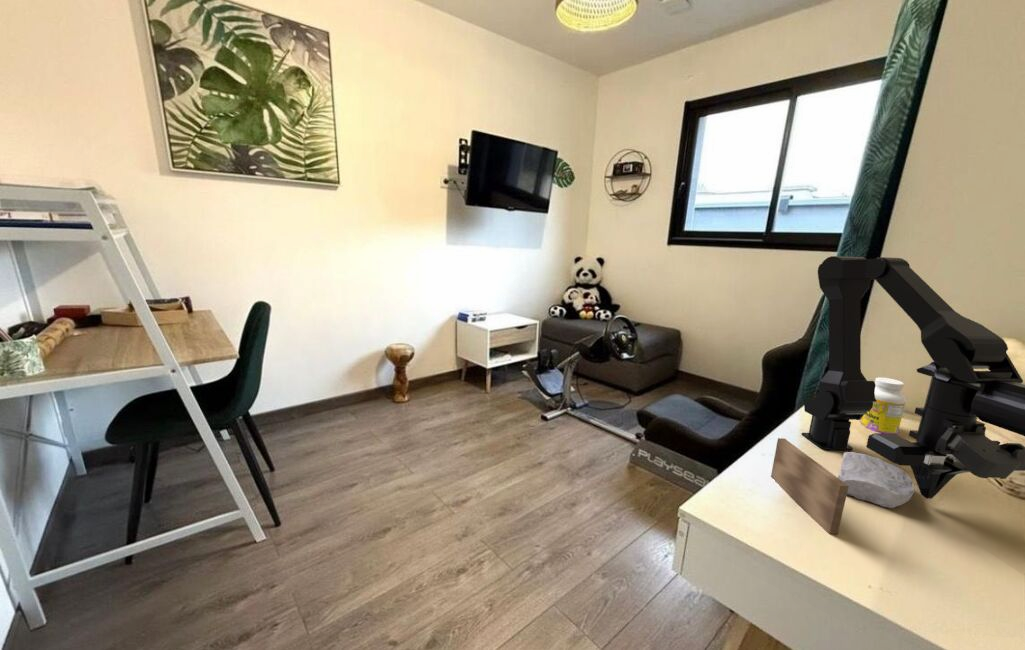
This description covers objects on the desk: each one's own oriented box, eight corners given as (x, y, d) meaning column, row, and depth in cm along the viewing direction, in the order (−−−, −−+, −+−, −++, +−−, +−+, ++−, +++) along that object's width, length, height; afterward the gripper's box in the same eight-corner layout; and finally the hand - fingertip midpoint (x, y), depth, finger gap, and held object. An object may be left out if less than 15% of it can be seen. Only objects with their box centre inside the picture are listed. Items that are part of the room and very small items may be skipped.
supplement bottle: (851, 425, 95) (862, 374, 93) (881, 427, 95) (893, 376, 92) (872, 438, 89) (884, 384, 86) (904, 441, 88) (918, 386, 85)
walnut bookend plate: (770, 478, 72) (777, 438, 70) (777, 478, 72) (784, 438, 70) (829, 534, 58) (840, 485, 56) (837, 534, 58) (848, 485, 56)
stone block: (903, 493, 71) (836, 463, 77) (916, 472, 69) (846, 443, 75) (905, 528, 63) (829, 491, 69) (921, 505, 61) (841, 469, 67)
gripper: (945, 431, 54) (918, 529, 57) (1081, 435, 54) (1047, 534, 57) (873, 399, 65) (854, 484, 68) (987, 403, 65) (962, 487, 68)
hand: (926, 497), depth 65 cm, fingers closed
